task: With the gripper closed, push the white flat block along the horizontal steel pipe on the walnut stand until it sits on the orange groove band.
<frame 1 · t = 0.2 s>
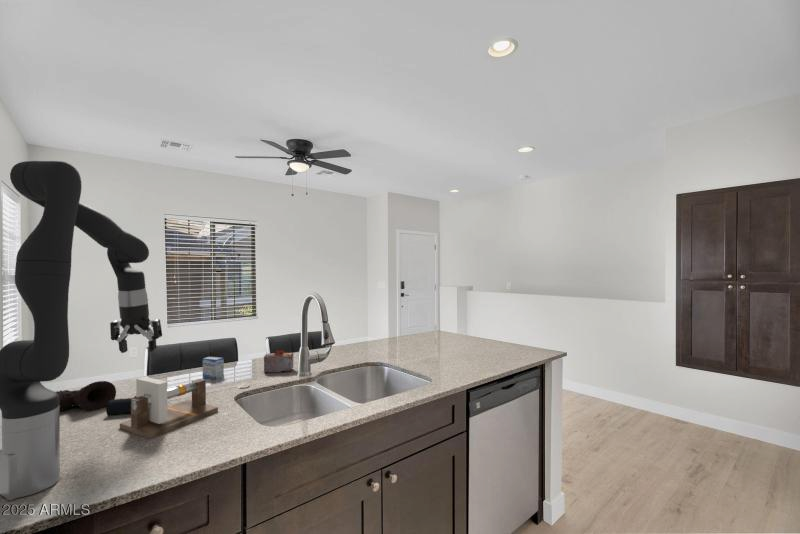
hand: (138, 351, 117), 22 cm above the counter, tool pointing down, fingers open, 8 cm apart
pipe stand: (171, 419, 118), on the counter
white flat block: (151, 399, 112), point 8 cm above the counter, slide at 0.0 cm
medicine box: (213, 377, 163), on the counter
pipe: (81, 408, 128), on the counter
pipe connector: (139, 409, 127), on the counter
steel pipe: (171, 393, 118), point 8 cm above the counter
food item: (279, 371, 172), on the counter
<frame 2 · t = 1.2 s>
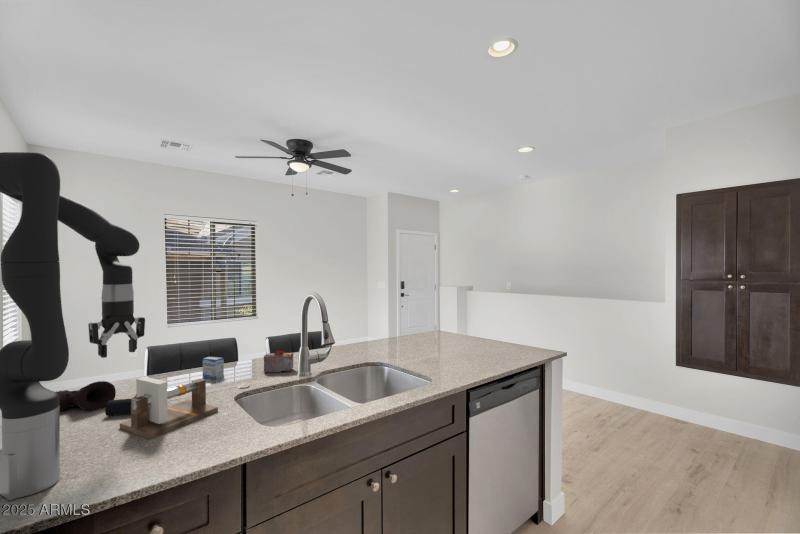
hand: (118, 354, 108), 24 cm above the counter, tool pointing down, fingers open, 7 cm apart
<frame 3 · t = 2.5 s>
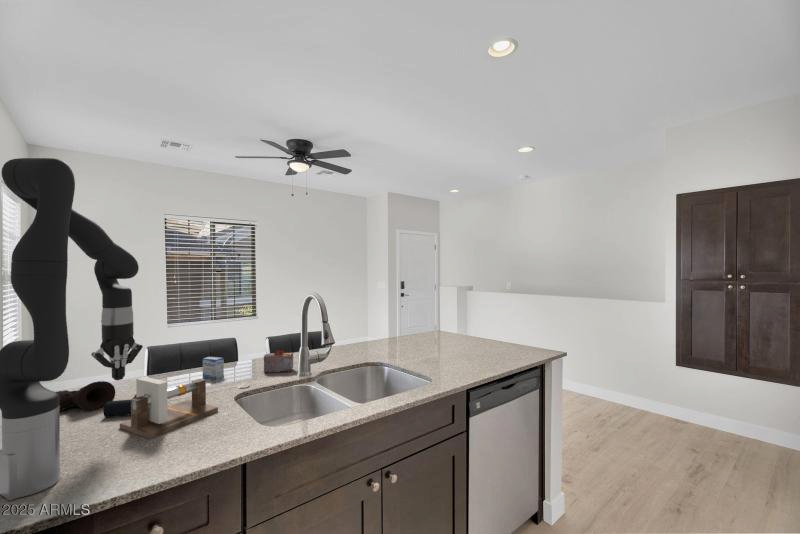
hand: (118, 379, 108), 16 cm above the counter, tool pointing down, fingers closed
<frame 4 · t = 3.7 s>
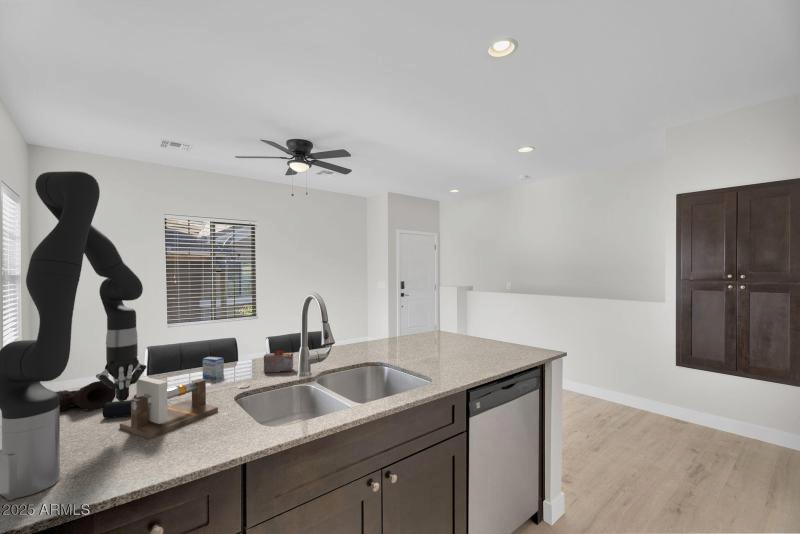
hand: (122, 400, 109), 10 cm above the counter, tool pointing down, fingers closed
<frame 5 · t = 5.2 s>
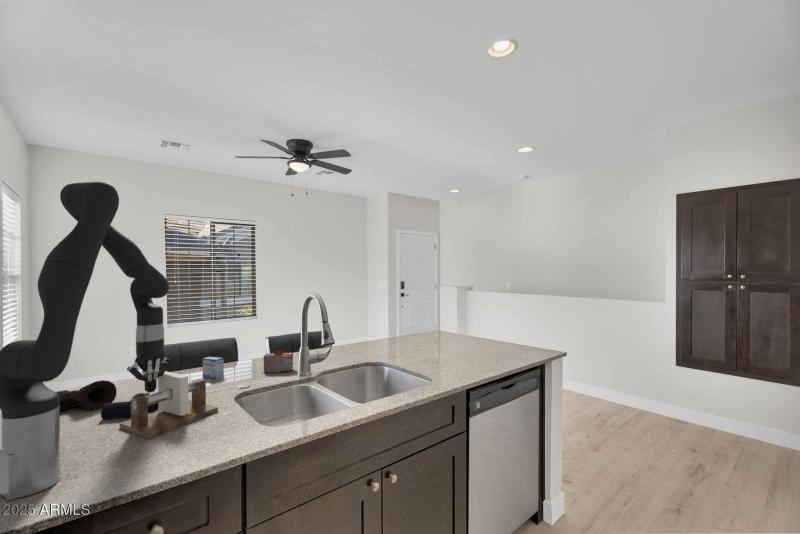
hand: (150, 391, 116), 10 cm above the counter, tool pointing down, fingers closed
white flat block: (172, 392, 118), point 8 cm above the counter, slide at 6.6 cm, touching hand
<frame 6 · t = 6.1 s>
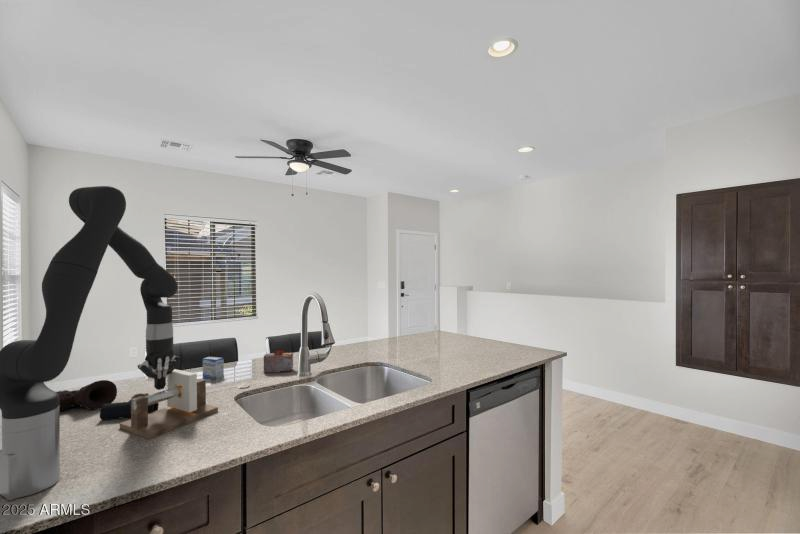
hand: (160, 388, 119), 10 cm above the counter, tool pointing down, fingers closed
white flat block: (181, 390, 121), point 9 cm above the counter, slide at 9.5 cm, touching hand
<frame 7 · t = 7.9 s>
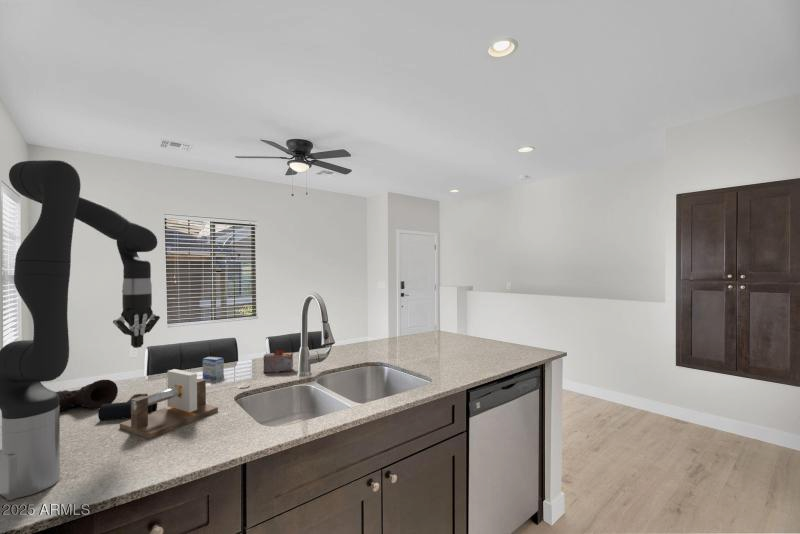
hand: (137, 347, 114), 24 cm above the counter, tool pointing down, fingers closed
white flat block: (182, 390, 121), point 8 cm above the counter, slide at 9.6 cm
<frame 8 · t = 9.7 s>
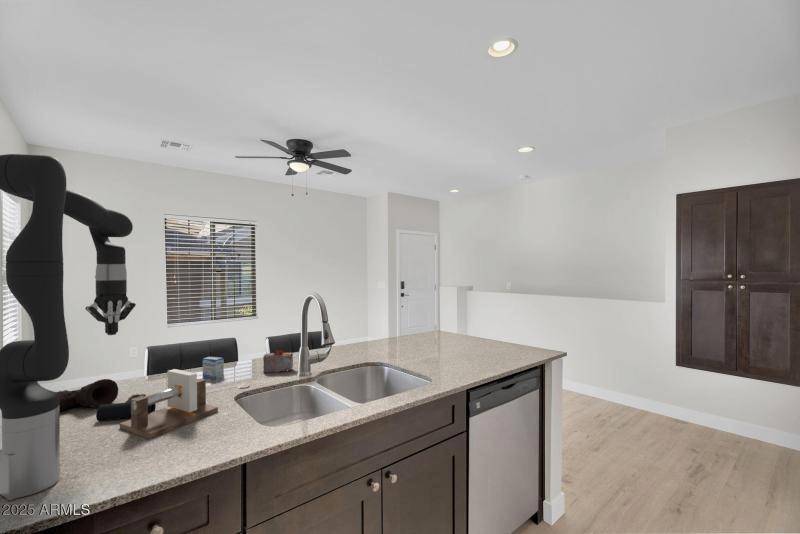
hand: (111, 334, 112), 29 cm above the counter, tool pointing down, fingers closed
at the end: white flat block slide at 9.6 cm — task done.
